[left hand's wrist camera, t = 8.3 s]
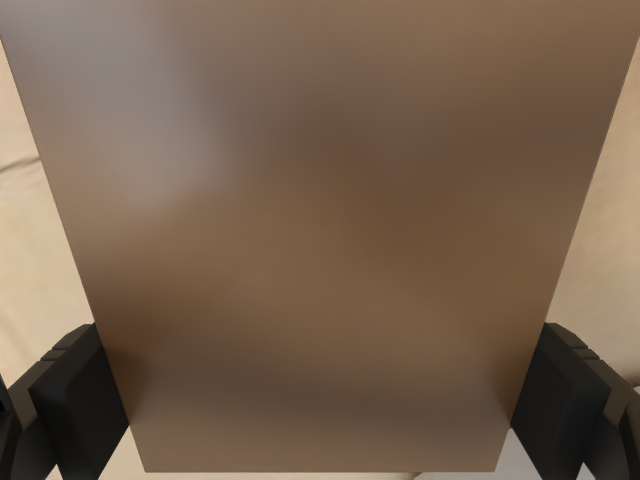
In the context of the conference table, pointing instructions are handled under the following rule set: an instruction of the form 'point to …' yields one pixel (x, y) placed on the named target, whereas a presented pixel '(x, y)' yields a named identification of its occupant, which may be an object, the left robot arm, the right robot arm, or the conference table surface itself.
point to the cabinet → (319, 211)
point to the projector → (505, 465)
